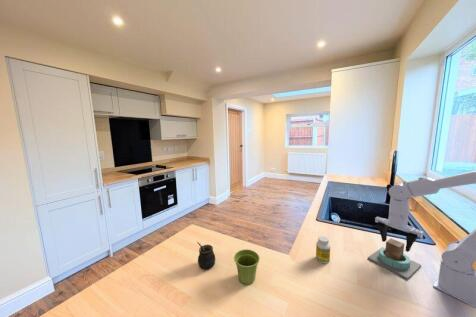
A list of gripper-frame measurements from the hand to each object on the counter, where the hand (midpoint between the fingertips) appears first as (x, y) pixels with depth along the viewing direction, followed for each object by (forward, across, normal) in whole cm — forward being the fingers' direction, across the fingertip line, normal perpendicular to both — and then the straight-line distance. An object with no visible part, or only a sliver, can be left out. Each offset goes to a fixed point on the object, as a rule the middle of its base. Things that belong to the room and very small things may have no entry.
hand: (395, 245), depth 73 cm
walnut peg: (+7, 0, 0) cm, 7 cm away
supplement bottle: (+8, +16, +23) cm, 29 cm away
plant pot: (+8, +24, +56) cm, 61 cm away
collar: (+8, 0, 0) cm, 8 cm away
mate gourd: (+8, +38, +67) cm, 77 cm away
